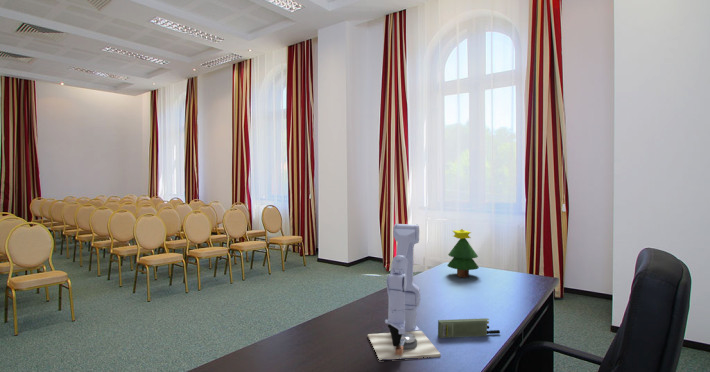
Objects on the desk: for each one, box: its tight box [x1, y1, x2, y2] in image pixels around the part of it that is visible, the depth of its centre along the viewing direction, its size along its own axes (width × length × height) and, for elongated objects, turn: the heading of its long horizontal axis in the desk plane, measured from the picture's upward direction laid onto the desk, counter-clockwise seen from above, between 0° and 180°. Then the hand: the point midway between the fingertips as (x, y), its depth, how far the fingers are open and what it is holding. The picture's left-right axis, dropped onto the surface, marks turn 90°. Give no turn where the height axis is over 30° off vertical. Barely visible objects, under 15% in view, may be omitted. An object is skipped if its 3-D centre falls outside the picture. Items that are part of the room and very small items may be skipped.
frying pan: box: [395, 333, 415, 355], centre depth 135 cm, size 7×16×2 cm, turn 162°
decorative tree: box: [446, 228, 479, 278], centre depth 239 cm, size 19×19×30 cm
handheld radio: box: [437, 317, 501, 339], centre depth 150 cm, size 7×3×25 cm
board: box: [367, 330, 442, 361], centre depth 140 cm, size 20×22×2 cm
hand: (396, 345), depth 134 cm, fingers closed, pressing on frying pan
